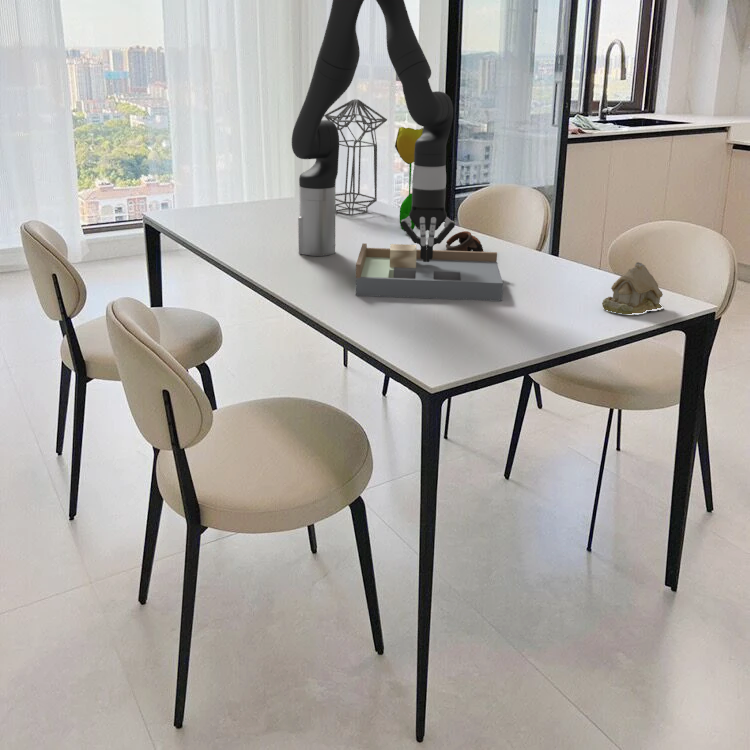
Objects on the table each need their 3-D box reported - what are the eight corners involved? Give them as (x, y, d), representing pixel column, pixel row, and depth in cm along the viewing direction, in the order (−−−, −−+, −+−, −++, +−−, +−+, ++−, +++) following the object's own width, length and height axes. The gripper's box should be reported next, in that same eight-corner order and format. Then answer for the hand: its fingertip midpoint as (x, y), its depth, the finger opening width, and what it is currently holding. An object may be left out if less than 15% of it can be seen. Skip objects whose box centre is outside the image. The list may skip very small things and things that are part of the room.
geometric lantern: (354, 206, 282) (358, 96, 269) (385, 215, 271) (391, 101, 258) (317, 210, 272) (319, 97, 259) (347, 220, 262) (352, 102, 248)
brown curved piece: (488, 266, 214) (476, 240, 209) (454, 280, 216) (441, 254, 212) (485, 244, 223) (473, 218, 219) (452, 257, 226) (440, 232, 222)
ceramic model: (623, 296, 190) (629, 253, 186) (671, 307, 183) (678, 262, 179) (592, 309, 180) (598, 263, 176) (641, 321, 173) (648, 274, 169)
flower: (416, 238, 239) (420, 128, 228) (389, 235, 241) (392, 127, 230) (425, 232, 247) (429, 126, 235) (399, 229, 249) (402, 124, 238)
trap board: (355, 295, 185) (355, 264, 183) (362, 271, 204) (362, 243, 201) (501, 300, 184) (504, 269, 181) (494, 276, 202) (497, 248, 200)
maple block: (389, 267, 193) (390, 250, 191) (390, 260, 198) (390, 244, 197) (415, 268, 193) (416, 250, 191) (415, 261, 198) (416, 244, 197)
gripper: (399, 187, 186) (397, 264, 192) (459, 188, 185) (455, 266, 191) (399, 182, 193) (398, 256, 199) (457, 183, 192) (454, 258, 198)
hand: (426, 261), depth 195 cm, fingers closed
